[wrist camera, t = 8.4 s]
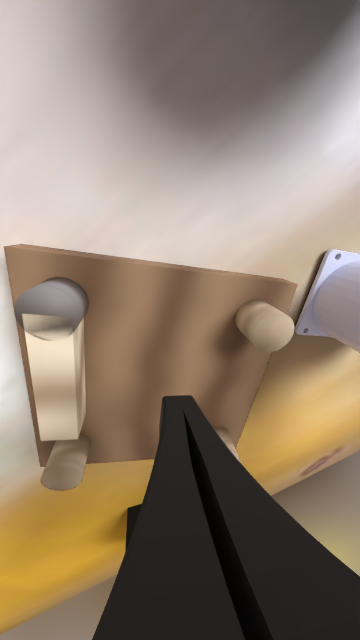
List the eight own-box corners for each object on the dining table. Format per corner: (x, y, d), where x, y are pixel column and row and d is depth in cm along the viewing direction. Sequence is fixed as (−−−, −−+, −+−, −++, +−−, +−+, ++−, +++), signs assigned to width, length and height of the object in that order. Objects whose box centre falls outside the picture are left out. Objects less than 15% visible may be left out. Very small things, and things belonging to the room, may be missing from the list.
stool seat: (282, 278, 18) (328, 296, 14) (227, 437, 26) (245, 482, 21) (21, 243, 14) (-37, 252, 9) (48, 446, 21) (24, 505, 17)
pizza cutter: (33, 273, 13) (9, 283, 10) (88, 280, 13) (78, 290, 11) (49, 413, 17) (35, 441, 15) (90, 412, 18) (82, 439, 16)
